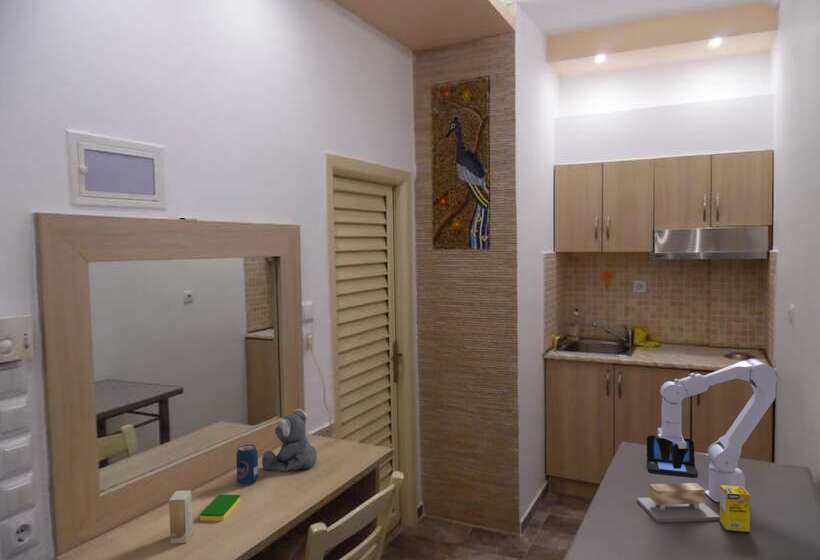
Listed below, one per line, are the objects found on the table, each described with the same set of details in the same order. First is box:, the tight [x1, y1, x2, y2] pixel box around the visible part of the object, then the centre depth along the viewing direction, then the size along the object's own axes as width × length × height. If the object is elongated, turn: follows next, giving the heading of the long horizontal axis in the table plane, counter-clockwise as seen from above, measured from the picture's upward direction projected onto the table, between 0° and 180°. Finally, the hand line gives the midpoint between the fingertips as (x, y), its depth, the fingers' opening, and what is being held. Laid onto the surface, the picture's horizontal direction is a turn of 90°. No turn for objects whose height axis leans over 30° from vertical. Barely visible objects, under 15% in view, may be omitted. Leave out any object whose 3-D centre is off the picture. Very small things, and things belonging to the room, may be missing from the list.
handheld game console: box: [646, 434, 699, 478], centre depth 207 cm, size 16×13×9 cm
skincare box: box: [168, 489, 194, 545], centre depth 161 cm, size 6×4×12 cm
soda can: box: [235, 444, 259, 487], centre depth 199 cm, size 7×7×12 cm
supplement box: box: [719, 485, 751, 535], centre depth 162 cm, size 6×6×11 cm
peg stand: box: [636, 497, 720, 523], centre depth 174 cm, size 18×14×3 cm
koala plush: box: [261, 408, 318, 473], centre depth 215 cm, size 17×18×20 cm
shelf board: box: [649, 482, 706, 505], centre depth 173 cm, size 14×5×4 cm, turn 92°
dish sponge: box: [199, 493, 241, 522], centre depth 179 cm, size 7×14×2 cm, turn 175°
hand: (671, 463), depth 185 cm, fingers open, 7 cm apart
